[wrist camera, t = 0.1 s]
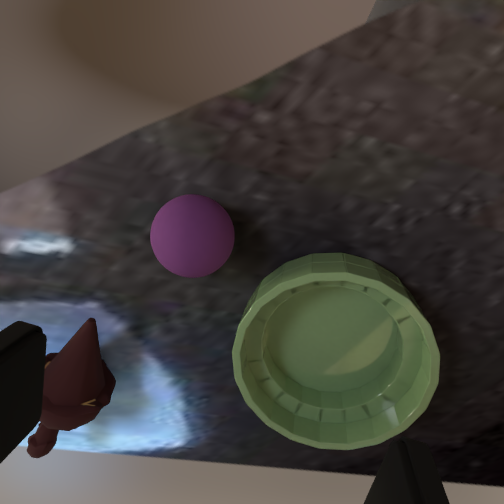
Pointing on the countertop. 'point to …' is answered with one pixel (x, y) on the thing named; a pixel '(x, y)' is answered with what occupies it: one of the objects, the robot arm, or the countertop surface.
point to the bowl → (335, 352)
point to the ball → (192, 236)
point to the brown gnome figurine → (72, 388)
